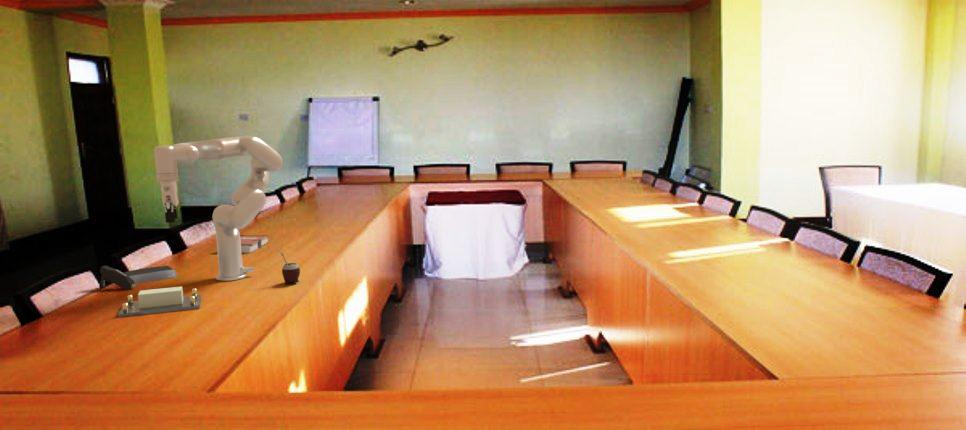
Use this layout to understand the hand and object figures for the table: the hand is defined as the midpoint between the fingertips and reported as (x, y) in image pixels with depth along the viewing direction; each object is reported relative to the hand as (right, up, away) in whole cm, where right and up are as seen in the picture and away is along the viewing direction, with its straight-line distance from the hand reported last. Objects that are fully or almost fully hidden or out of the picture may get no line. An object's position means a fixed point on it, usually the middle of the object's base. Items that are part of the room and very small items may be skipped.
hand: (171, 220), depth 251 cm
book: (-2, -16, +83) cm, 85 cm away
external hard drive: (-21, -26, +23) cm, 40 cm away
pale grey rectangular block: (+5, -30, -18) cm, 36 cm away
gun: (-25, -28, +8) cm, 39 cm away
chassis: (+5, -32, -18) cm, 37 cm away
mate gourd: (+43, -26, +12) cm, 52 cm away
